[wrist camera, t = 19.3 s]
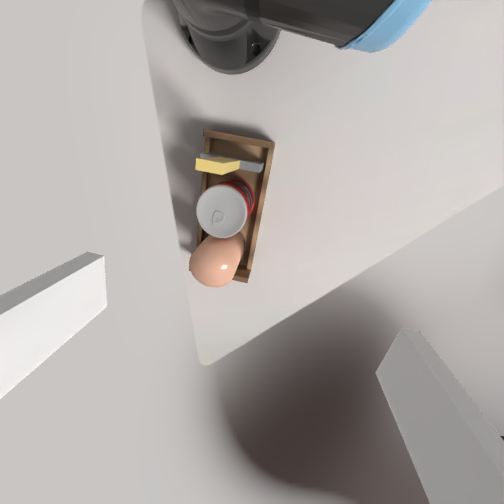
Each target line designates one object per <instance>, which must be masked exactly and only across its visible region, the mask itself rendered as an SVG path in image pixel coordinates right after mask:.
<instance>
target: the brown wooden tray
mask: <svg viewBox="0 0 504 504" xmlns="http://www.w3.org/2000/svg"><path fill="white" fill-rule="evenodd" d="M203 136H206V138H205V150H204V153H217V154H222V155H227V156H233V157H238V158H243V159H248V160H254V161H259V162H264V167H263V170H262V171H261V172H260V173H258V172H253V171H247V170H242V169H237V170H234V171H232V172H229V173H226V174H223V175H220V174H215V173H209V172H204V171H203V174H202V186H201V195H202V193H203V192H204V191H205V190H207V189H208V188H210V187H212V186H213V185H216V184H218V183H220V182H222V181H225V180H227V179H231V178H237V179H241V180H243V181H245V182H246V183H248V184H249V185H250V187H251V188H252V190H253V192H254V196H255V203H254V207H253V210H252V212H251V214H250V215H249V217H248V219H247V221H246V223H245V224H244V226H243V227H242V229H241V230H240V232H241V233H242V234H243V236H244V238H245V250H244V252H243V255H242V257H241V259H240V262H239V264H238V267H237V269H236V272H235V274H234V277H233V278H232V280H236V281H240V282H245V283H247V282H248V279H249V275H250V272H251V267H252V262H253V257H254V252H255V246H256V241H257V236H258V231H259V226H260V220H261V215H262V210H263V205H264V199H265V194H266V189H267V184H268V179H269V173H270V168H271V163H272V158H273V153H274V147H275V142H271V141H265V140H260V139H255V138H249V137H244V136H238V135H233V134H228V133H222V132H217V131H212V130H206V129H203ZM208 235H209V234H208V233H207V232H206V231H204V230H203V228H202V227H201V226H200V224H199V223H198V235H197V247H196V249H197V248H198V246H199V245H200V244H201V243H202V242H203V241H204V240H205V239H206V238H207V236H208ZM189 271H191V270H190V266H189Z"/></svg>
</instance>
